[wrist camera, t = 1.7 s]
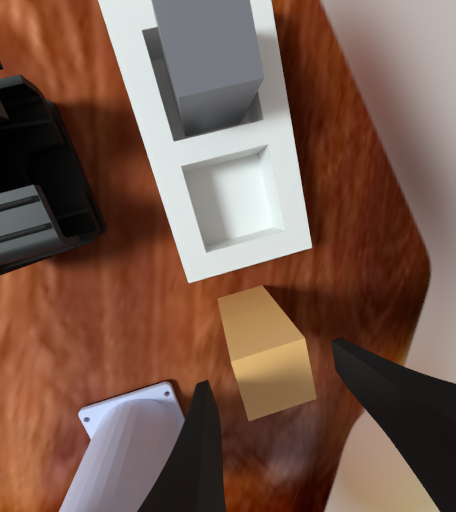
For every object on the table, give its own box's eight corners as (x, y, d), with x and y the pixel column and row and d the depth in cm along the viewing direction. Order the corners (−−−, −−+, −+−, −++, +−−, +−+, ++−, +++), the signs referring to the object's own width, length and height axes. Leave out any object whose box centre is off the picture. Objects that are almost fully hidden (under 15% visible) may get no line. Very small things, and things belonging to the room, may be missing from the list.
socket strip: (294, 241, 19) (341, 258, 13) (189, 270, 18) (186, 304, 12) (252, 10, 15) (290, -124, 9) (117, 39, 14) (57, -85, 8)
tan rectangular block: (271, 325, 21) (316, 398, 13) (229, 338, 20) (248, 421, 13) (262, 285, 20) (304, 338, 12) (217, 298, 19) (230, 361, 12)
